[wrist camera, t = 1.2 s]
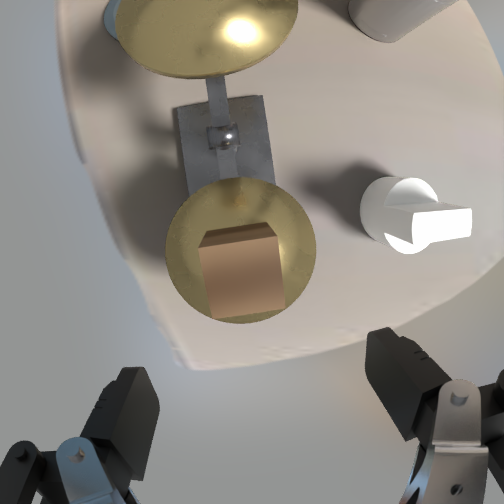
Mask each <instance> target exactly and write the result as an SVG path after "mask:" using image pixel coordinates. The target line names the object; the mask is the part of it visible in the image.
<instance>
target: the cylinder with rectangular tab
mask: <svg viewBox="0 0 504 504" xmlns="http://www.w3.org/2000/svg"><path fill="white" fill-rule="evenodd" d="M360 217H361V222H362V225H363V227H364V229H365V231H366V232H367V233H368V235H369V236H370V237H372V238H373V239H374V240H376V241H378V242H380V243H382V244H384V245H386V246H389V247H391V248H393V249H395V250H397V251H399V252H402V253H405V254H413V253H416V252H419V251H421V250H422V249H424V248H425V247H427V246H428V244H429V243H430V242H436V241H442V240H449V239H455V238H461V237H467V236H470V234H471V227H472V211H471V208H466V207H462V206H457V205H452V204H447V203H441V202H438V199H437V196H436V194H435V193H434V191H433V189H432V188H431V187H430V186H429V185H428V184H427V183H426V182H424V181H422V180H421V179H417V178H408V177H382V178H379V179H377V180H375V181H373V182H372V183H371V184H370V185H369V186H368V187H367V189H366V190H365V192H364V194H363V196H362V200H361V203H360Z"/></svg>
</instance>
